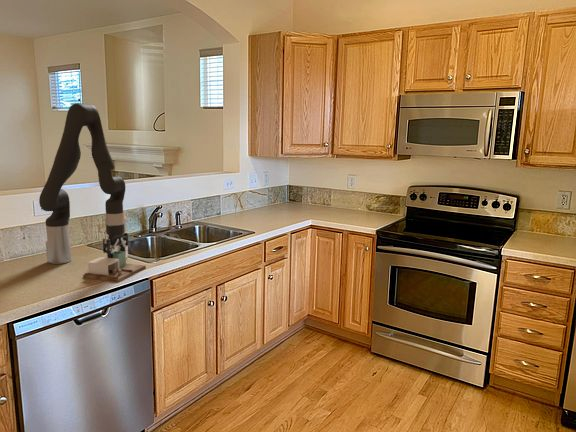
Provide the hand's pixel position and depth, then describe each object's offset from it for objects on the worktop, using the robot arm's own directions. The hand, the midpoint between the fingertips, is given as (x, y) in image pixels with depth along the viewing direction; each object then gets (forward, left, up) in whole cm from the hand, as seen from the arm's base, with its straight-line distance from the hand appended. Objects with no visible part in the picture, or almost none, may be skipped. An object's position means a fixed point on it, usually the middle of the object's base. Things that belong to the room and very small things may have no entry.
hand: (116, 258), depth 193 cm
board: (+3, -6, -4) cm, 8 cm away
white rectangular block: (+1, -10, -3) cm, 11 cm away
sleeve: (0, 0, -3) cm, 3 cm away
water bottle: (-9, +14, -4) cm, 17 cm away
